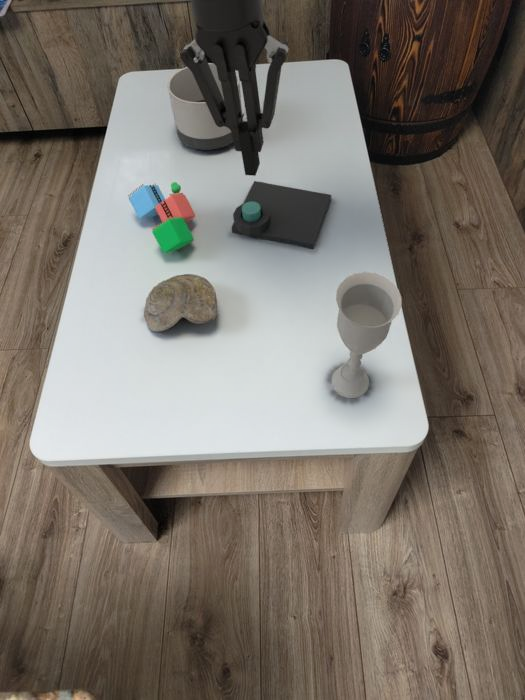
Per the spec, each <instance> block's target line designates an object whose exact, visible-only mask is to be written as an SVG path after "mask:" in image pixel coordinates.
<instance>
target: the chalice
mask: <svg viewBox="0 0 525 700" xmlns="http://www.w3.org/2000/svg"><path fill="white" fill-rule="evenodd" d="M335 301H336V304H337V308H338V312H337V321H336V329H337V332H338V334H339V337H340V339H341V341H342V343H343V345H344V346H345V347H346V348H347V349H348V350H349V358H348V359H347V363H344V364H342V365H341V366H339V367H338V368H336V369H335V370H334V372H333V374H332V376H331V385H332V388H333V389H334V391H335V392H336V393H337V394H338V395H339V396H342V397H344V398H347V399H355V398H356V399H357V398H359V397H361V396H363V395H365V394H366V392H367V391H368V390H369V387H370V379H369V376H368V374H367V372H366V371H365V369H364V368H363V367H362V361H361V360H362V359H363V356H364V355H365V354H368V353H370V352H372V351H373V350H376V348H378V347H379V346H380V345H382V343H383V342H385V340H386V339H387V337H388V334H389V332H390V329H391V325H392V322H393V321H394V320H395V319H396V318H397V317H398V316H399V314H400V311H401V309H402V301H403V299H402V296H401V293H400V290H399V288H398V287H397V286H396V284H395V283H394V282H393V281H392V280H390V279H389V278H388V277H386V276H384V275H383V274H382V275H381V274H379V273H376V272H369V271H362V272H361V271H360V272H356V273H353V274H351V275H349V276H346V277H345V278H344V280H342V282H340V283H339V285H338V288H337V290H336V295H335Z"/></svg>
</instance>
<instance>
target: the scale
mask: <svg viewBox="0 0 525 700" xmlns="http://www.w3.org/2000/svg"><path fill="white" fill-rule="evenodd" d="M331 201H332V194H328V193H324V192H323V193H322V192H317V191H312V190H308V189H302V188H295V187H291V186H290V187H289V186H285V185H278V184H274V183H267V182H263V181H258V180H254V181H253V182H252V185H251V187H250V189H249V191H248V193H247V195H246V196H245V199H244V201H243V203H242V204H240V205H238V206H237V207H236V208H235V210H234V212H233V213H232V218H233V223H232V225H231V233H232V234H236V235H242V236H247V237H252V238H257V239H261V240H267V241H271V242H276V243H282V244H287V245H291V246H295V247H301V248H305V249H309V250H310V249H311V250H314V248H315V245H316V243H317V240H318V238H319V234H320V231H321V229H322V226H323V223H324V220H325V219H326V216H327V212H328V209H329V207H330V204H331ZM247 202H256V203H258V204H259V205H260V209H261V217H260V219H259V220H258V221H255V222H247V221H245V220H244V219H243V216H242V206H243V205H244V204H245V203H247Z"/></svg>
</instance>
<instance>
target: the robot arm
mask: <svg viewBox="0 0 525 700" xmlns="http://www.w3.org/2000/svg"><path fill="white" fill-rule="evenodd" d="M190 5H191V9H192V10H191V11H192V14H193V19H194V22H195V25H196V26H195V27H196V28H195V32H194V39H193V40H192V41H191V40H190V41H187V42H186V44H185V46H184V47H183V49H182V51H181V53H180V55H179V58H180V60H181V61H182V63H183V64H184V65H185V66H186V67H188V68H189V69H190V71H191V72H192V73H193V76H194V78H195V80H196V82H197V84H198V87H199V89H200V91H201V93H202V95H203V98H204V100H205V102H206V104H207V106H208V109H209V111H210V113H211V115H212V117H213V120H214V122H215V124H216V125H217V126H218V127H223V126H225V127H227V128H229V129H230V130H231V133H232V138H233V143H232V144H233V148H234V150H235V151H236V152H240V153H241V158H242V164H243V169H244V174H245V176H254V177H255V176H257V172H258V171H259V167H260V164H261V162H260V155H259V153H261V151H262V149H263V146H264V144H265V143H264V141H265V140H264V134H263V129H265V130H267V129H270V127H271V125H272V123H273V119H274V117H275V114H276V113H275V112H276V106H277V100H278V93H279V88H280V87H279V86H280V80H281V75H282V74H281V73H282V67H283V65H284V63H285V61H286V59H287V56H288V53H289V51H290V48H291V44H290V43H289V41H287V40H281V41H278V40H277V39H276V38H274V37H273V36H271V34H270V28H269V27H268V25H267V24H266V21H265V18H264V10H263V9H264V7H263V1H262V0H190ZM264 49H265V50H266V60H267V63H269V65H268V66H269V67H268V69H267V75H266V83H265V90H264V99H263V107H262V111H261V102H260V96H259V95H260V94H259V86H258V79H257V62H258V60H259V58H260V56H261V55H262V52H263V51H264ZM205 55H206V57H207V58H208V59H209V60H210V61H211V63H214V64H215V66H216V68H217V73H218V78H219V81H221V86H222V92H223V97H224V100H223V97H222V95H221V93H220V90H219V88H218V85H217V83H216V81H215V78H214V76H213V74H212V71H211V69H210V67H209V64H208V63H209V62H208V60H207V58H206V57H205ZM236 71H237V72H236ZM236 73H237V74H238V76H239V82H240V85H241V90H242V97H243V104H244V109H245V114H244V113H243V109H242V110H241V105H242V103H241V104H240V98H239V91H238V85H237V78H236ZM245 115H246V120H244V116H245ZM242 119H243V123H242Z"/></svg>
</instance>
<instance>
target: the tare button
mask: <svg viewBox="0 0 525 700" xmlns="http://www.w3.org/2000/svg"><path fill="white" fill-rule="evenodd" d="M242 216H243V219H244V220H245V221H247V222H255V221H258V220H259V219H260V217H261V209H260V205H259V204H258V203H256V202H247V203H245V204H244V205H243V206H242Z"/></svg>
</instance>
